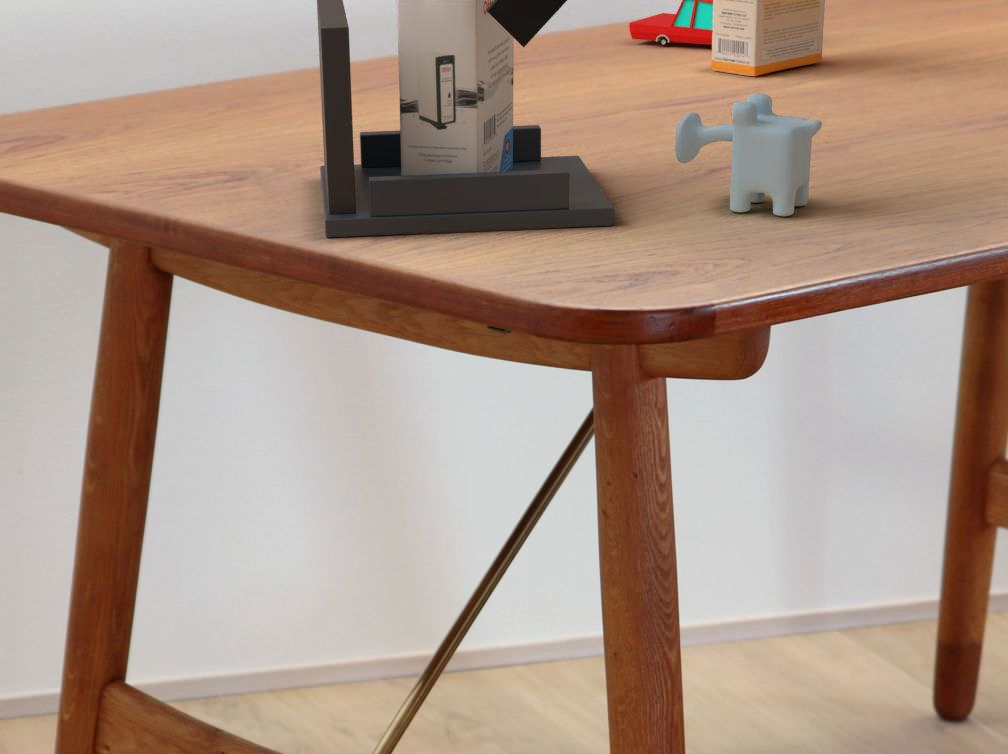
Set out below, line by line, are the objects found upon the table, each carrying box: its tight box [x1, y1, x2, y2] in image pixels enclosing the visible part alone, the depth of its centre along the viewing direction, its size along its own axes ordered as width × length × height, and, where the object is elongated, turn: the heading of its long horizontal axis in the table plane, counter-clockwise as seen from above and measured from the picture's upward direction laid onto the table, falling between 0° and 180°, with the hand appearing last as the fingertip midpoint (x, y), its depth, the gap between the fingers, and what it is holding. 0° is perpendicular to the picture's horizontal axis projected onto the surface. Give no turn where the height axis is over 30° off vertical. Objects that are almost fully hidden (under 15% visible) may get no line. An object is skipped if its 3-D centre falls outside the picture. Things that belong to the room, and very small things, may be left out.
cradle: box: [316, 0, 616, 238], centre depth 110 cm, size 14×16×11 cm
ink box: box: [396, 0, 515, 176], centre depth 110 cm, size 9×5×12 cm, turn 164°
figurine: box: [674, 92, 823, 217], centre depth 109 cm, size 4×8×6 cm, turn 62°
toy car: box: [628, 0, 713, 47], centre depth 162 cm, size 6×12×4 cm, turn 56°
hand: (489, 13), depth 108 cm, fingers open, 13 cm apart
